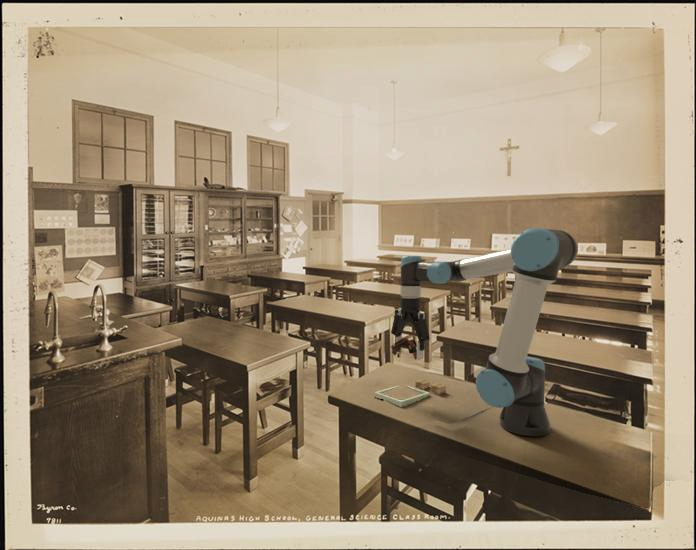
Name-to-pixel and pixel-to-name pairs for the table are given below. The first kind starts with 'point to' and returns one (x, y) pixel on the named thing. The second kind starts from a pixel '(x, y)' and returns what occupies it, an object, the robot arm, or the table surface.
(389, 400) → the tray
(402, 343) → the broken pot
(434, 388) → the oak cube
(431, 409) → the table surface
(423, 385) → the oak cube
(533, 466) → the table surface
